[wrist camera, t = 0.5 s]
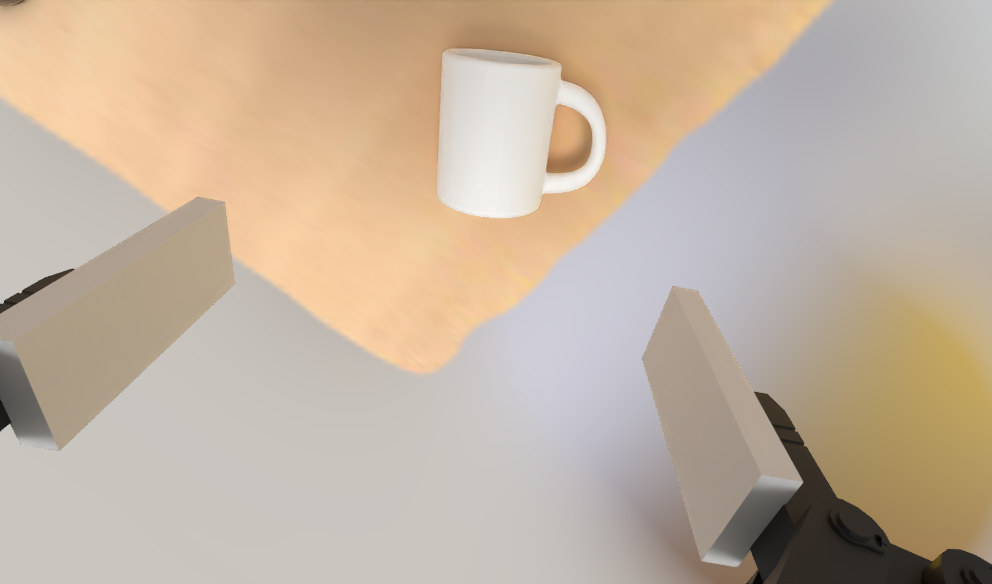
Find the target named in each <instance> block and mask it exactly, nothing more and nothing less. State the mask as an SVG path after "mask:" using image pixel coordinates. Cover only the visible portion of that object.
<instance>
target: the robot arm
mask: <svg viewBox="0 0 992 584" xmlns="http://www.w3.org/2000/svg"><path fill="white" fill-rule="evenodd" d="M234 284H235V281H234V272H233V265H232V256H231V248H230V240H229V232H228V224H227V216H226V208H225V202H223V201H217V200H212V199H207V198H201V197H197V198H195V199H193V200H192V201H190V202H188V203H187V204H185V205H183V206H182V207H180V208H178V209H177V210H175V211H173V212H171V213H170V214H168V215H166V216H165V217H163V218H161V219H160V220H158V221H156V222H155V223H153V224H151V225H149V226H148V227H146V228H144V229H143V230H141V231H139V232H138V233H136V234H134V235H133V236H131V237H129V238H128V239H126V240H124V241H122V242H121V243H119V244H117V245H116V246H114V247H112V248H111V249H109V250H107V251H106V252H104V253H102V254H101V255H99V256H97V257H95V258H94V259H92V260H90V261H89V262H87V263H85V264H84V265H82V266H80V267H79V268H77V269H69V270H67V271H63V272H61V273H57V274H54V275H52V276H48V277H45V278H43V279H41V280H39V281H38V282H36V283H34V284H32V285H31V286H29V287H27V288H25V289H24V290H22V293H17V294H15V295H13V296H11V297H10V298H8V299H6V300H5V301H4V303H3V304H0V431H1V430H2V429H4V427H6V426H7V425H9V424H11V426H12V428H13V430H14V433H15V434H16V437H17V439H18V441H19V443H20V445H26V446H32V447H38V448H44V449H50V450H56V451H60V450H61V449H62V448H63V447H64V446H65V445H66V444H67V443H68V442H70V441H71V440H72V439H73V438H74V437H75V436H76V435H77V434H78V433H79V432H80V431H81V430H82V429H83V428H84V427H85V426H86V425H87V424H88V423H89V422H90V421H92V420H93V419H94V418H95V417H96V415H98V414H99V413H100V412H101V411H102V410H103V409H104V408H105V407H106V406H107V405H108V404H109V403H110V402H112V401H113V400H114V399H115V398H116V397H117V396H118V395H119V394H120V393H121V392H122V391H123V390H124V389H125V388H126V387H127V386H128V385H129V384H130V383H131V382H132V381H133V380H134V379H136V378H137V377H138V376H139V375H140V374H141V373H142V372H143V371H144V370H145V369H146V368H147V367H148V366H149V365H150V364H151V363H152V362H153V361H155V360H156V359H157V357H159V356H160V355H161V354H162V353H163V352H164V351H165V350H166V349H167V348H168V347H169V346H170V345H171V344H172V343H173V342H174V341H175V340H176V339H178V337H180V336H181V335H182V334H183V333H184V332H185V331H186V330H187V329H188V328H189V327H190V326H191V325H192V324H193V323H194V322H195V321H196V320H197V319H199V317H201V316H202V315H203V314H204V313H205V312H206V311H207V310H208V309H209V308H210V307H211V306H212V305H213V304H214V303H215V302H216V301H217V300H218V299H220V298H221V297H222V296H223V295H224V294H225V293H226V292H227V291H228V290H229V289H230V288H231V287H232V286H233V285H234ZM642 360H643V364H644V367H645V371H646V374H647V377H648V381H649V384H650V387H651V391H652V394H653V398H654V401H655V404H656V408H657V411H658V415H659V418H660V422H661V425H662V428H663V432H664V435H665V439H666V442H667V446H668V449H669V452H670V456H671V459H672V463H673V466H674V469H675V473H676V476H677V479H678V483H679V486H680V490H681V493H682V497H683V500H684V503H685V507H686V510H687V514H688V517H689V520H690V524H691V527H692V530H693V534H694V537H695V541H696V544H697V548H698V551H699V555H700V558H701V561H704V562H710V563H716V564H722V565H728V566H734V567H738V566H739V564H740V563H741V562H742V560H743V559H744V558H745V557H746V555H747V554H748V553H749V551H750V550H751V552H752V555H753V557H754V560H755V562H756V565H757V568H758V570H757V571H756V572H755V574H754V575H753V576H752V577H751V578H750V580H749V581H748V582H747V583H746V584H992V564H990V563H988V562H986V561H985V560H983V559H981V558H980V557H978V556H976V555H974V554H971V553H968V552H966V551H963V550H960V549H959V550H958V549H947V550H946V551H945V552H943V553H942V554H940V555H939V556H938V557H937V558H936V559H935V560H934V561H930V560H928V559H925V558H923V557H921V556H918V555H916V554H914V553H912V552H909V551H907V550H905V549H902V548H900V547H898V546H895V545H893V544H891V543H890V542H889V540H888V538H887V536H886V534H885V533H884V531H883V530H882V529H881V528H880V527H879V526H878V525H877V523H876V522H875V521H874V520H873V519H872V518H871V517H870V516H868V515H867V514H866V513H864V512H863V511H862V510H860V509H859V508H858V507H856V506H854V505H852V504H850V503H848V502H846V501H844V500H842V499H838V498H837V497H836V495H835V493H834V492H833V490H832V488H831V487H830V485H829V483H828V482H827V480H826V479H825V477H824V475H823V473H822V472H821V470H820V468H819V467H818V465H817V463H816V462H815V460H814V458H813V457H812V455H811V453H810V452H809V450H808V448H807V447H805V446H804V442H803V440H802V438H801V437H800V435H799V433H798V432H795V427H794V425H793V424H792V422H791V420H790V419H789V417H788V415H787V414H786V412H785V410H783V409H782V408H781V407H780V406H779V405H778V404H777V403H776V402H775V401H774V400H773V399H772V398H771V397H770V396H769V395H768V394H765V393H759V392H754V391H753V390H752V388H751V386H750V384H749V383H748V381H747V379H746V377H745V375H744V374H743V372H742V370H741V368H740V366H739V365H738V363H737V361H736V359H735V357H734V355H733V354H732V352H731V350H730V348H729V346H728V345H727V343H726V341H725V339H724V337H723V335H722V334H721V332H720V330H719V328H718V326H717V325H716V323H715V321H714V319H713V317H712V316H711V314H710V312H709V310H708V309H707V306H706V305H705V303H704V301H703V299H702V297H701V296H700V294H699V292H698V291H695V290H691V289H685V288H680V287H675V286H673V287H672V289H671V291H670V293H669V296H668V298H667V300H666V303H665V305H664V308H663V310H662V312H661V315H660V317H659V319H658V322H657V324H656V327H655V329H654V331H653V333H652V336H651V338H650V341H649V343H648V345H647V348H646V350H645V352H644V355H643V357H642Z"/></svg>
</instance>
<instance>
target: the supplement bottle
mask: <svg viewBox="0 0 992 584" xmlns="http://www.w3.org/2000/svg"><path fill="white" fill-rule="evenodd" d="M21 1H22V0H0V7H1V6H11V5H15V4H17V3H19V2H21Z"/></svg>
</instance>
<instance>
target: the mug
mask: <svg viewBox="0 0 992 584" xmlns="http://www.w3.org/2000/svg"><path fill="white" fill-rule="evenodd" d="M561 70H562V66H561V64H560V63H559V62H557V61H554V60H551V59H547V58H543V57H538V56H533V55H527V54H520V53H513V52H505V51H496V50H486V49H470V48H454V49H447V50H445V51H444V52H443V54H442V76H441V100H440V124H439V148H438V172H437V196H438V198H439V200H440V201H441V202H442V203H444V204H445V205H446V206H448V207H450V208H452V209H454V210H456V211H459V212H462V213H466V214H469V215H474V216H479V217H487V218H514V217H520V216H524V215H528V214H530V213H532V212H534V211H535V210H537V209H538V207H539V206H540V204H541V198H542V195H543V194H545V193H565V192H570V191H573V190H576V189H578V188H581V187H582V186H584V185H586V184H587V183H588V182H590V181H591V180H592V179H593V178H594V176H595V175H596V174H597V172H598V171H599V169H600V167H601V165H602V162H603V159H604V156H605V150H606V126H605V121H604V117H603V114H602V111H601V109H600V107H599V105H598V103H597V102H596V100H595V99H594V98H593V97H592V96H591V95H590V94H589V93H588V92H587V91H586V90H584V89H583V88H581V87H579V86H577V85H575V84H573V83H570V82H567V81H563V80H562V79H561ZM559 104H561V105H565V106H568V107H570V108H572V109H574V110H576V111H578V112H579V113H581V114H582V115H583V116H584V117H585V118H586V119H587V120H588V122H589V124H590V126H591V129H592V148H591V153H590V156H589V158H588V160H587V162H586V163H585V165H584V166H583V167H581V168H580V169H578V170H575V171H572V172H567V173H547V172H546V166H547V159H548V153H549V147H550V140H551V134H552V127H553V121H554V115H555V108H556V106H557V105H559Z"/></svg>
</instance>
